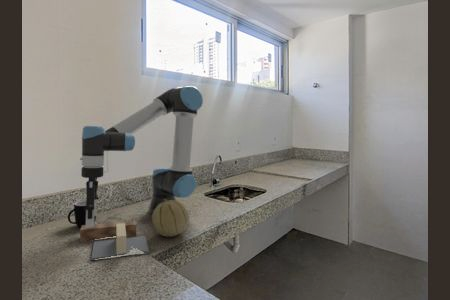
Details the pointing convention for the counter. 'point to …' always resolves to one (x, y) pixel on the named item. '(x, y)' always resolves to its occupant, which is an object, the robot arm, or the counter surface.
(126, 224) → the beam
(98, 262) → the counter surface
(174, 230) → the cantaloupe
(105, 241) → the fulcrum
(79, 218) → the mug
